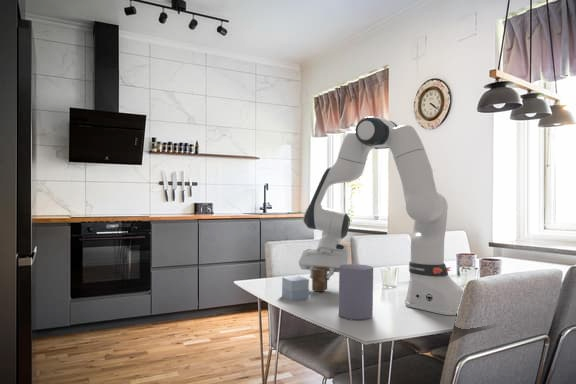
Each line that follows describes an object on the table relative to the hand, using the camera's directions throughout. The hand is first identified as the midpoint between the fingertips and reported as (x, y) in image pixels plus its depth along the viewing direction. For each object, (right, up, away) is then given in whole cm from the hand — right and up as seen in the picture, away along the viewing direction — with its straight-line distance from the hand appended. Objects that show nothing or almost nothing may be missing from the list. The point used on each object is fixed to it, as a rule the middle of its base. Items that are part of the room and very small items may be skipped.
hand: (319, 278), depth 164 cm
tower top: (-9, -1, -10) cm, 14 cm away
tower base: (-9, -5, -10) cm, 14 cm away
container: (+9, -5, -33) cm, 34 cm away
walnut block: (0, -4, 0) cm, 4 cm away
